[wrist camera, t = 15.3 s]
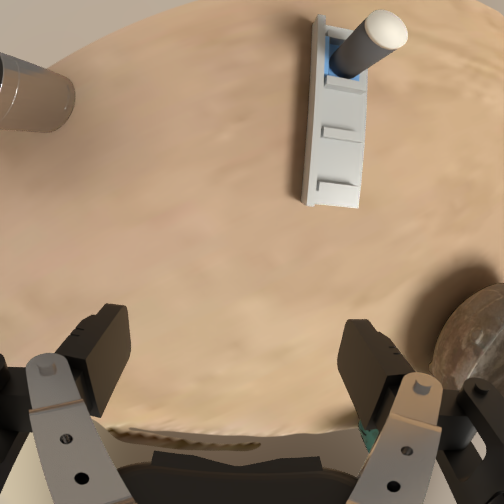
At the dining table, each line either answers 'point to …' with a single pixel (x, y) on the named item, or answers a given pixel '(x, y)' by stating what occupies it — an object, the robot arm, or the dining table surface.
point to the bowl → (472, 342)
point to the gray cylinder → (368, 44)
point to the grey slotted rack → (333, 125)
